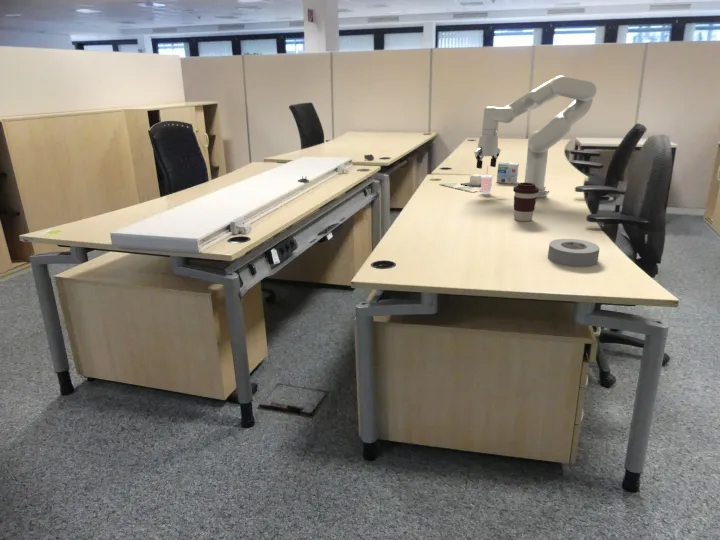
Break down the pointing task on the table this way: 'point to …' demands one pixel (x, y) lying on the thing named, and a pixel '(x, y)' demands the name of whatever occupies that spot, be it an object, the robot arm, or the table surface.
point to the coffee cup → (524, 201)
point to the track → (461, 187)
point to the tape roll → (573, 252)
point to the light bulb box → (507, 172)
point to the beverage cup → (486, 183)
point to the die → (475, 179)
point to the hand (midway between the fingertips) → (486, 167)
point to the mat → (471, 185)
